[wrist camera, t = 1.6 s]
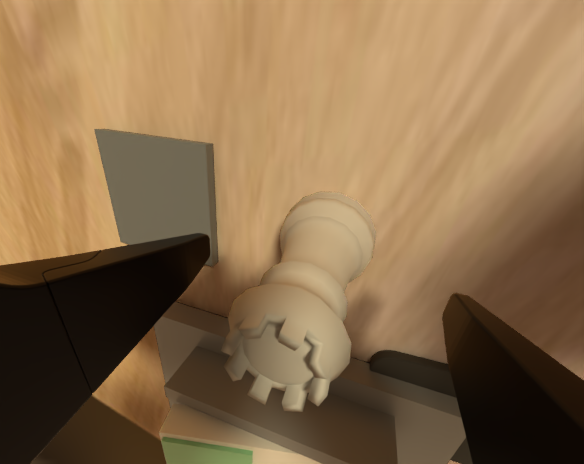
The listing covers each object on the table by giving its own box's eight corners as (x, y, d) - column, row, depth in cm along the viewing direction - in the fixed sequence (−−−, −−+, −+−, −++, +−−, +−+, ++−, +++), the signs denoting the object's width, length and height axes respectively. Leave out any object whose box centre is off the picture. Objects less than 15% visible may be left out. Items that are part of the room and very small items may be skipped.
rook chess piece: (380, 269, 12) (388, 458, 5) (296, 271, 14) (218, 420, 7) (371, 181, 11) (367, 285, 4) (279, 195, 12) (156, 286, 5)
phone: (640, 524, 13) (355, 429, 17) (625, 503, 14) (356, 416, 18) (749, 448, 10) (374, 352, 14) (723, 426, 11) (374, 340, 15)
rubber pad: (212, 143, 12) (205, 144, 12) (218, 261, 15) (212, 266, 15) (104, 128, 14) (94, 129, 13) (128, 238, 17) (120, 242, 16)
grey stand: (466, 394, 14) (503, 503, 10) (405, 491, 19) (413, 588, 15) (167, 299, 18) (110, 347, 14) (183, 398, 23) (144, 453, 19)
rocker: (374, 433, 14) (382, 472, 13) (354, 482, 17) (358, 519, 15) (173, 403, 15) (156, 436, 13) (183, 454, 17) (170, 487, 16)
